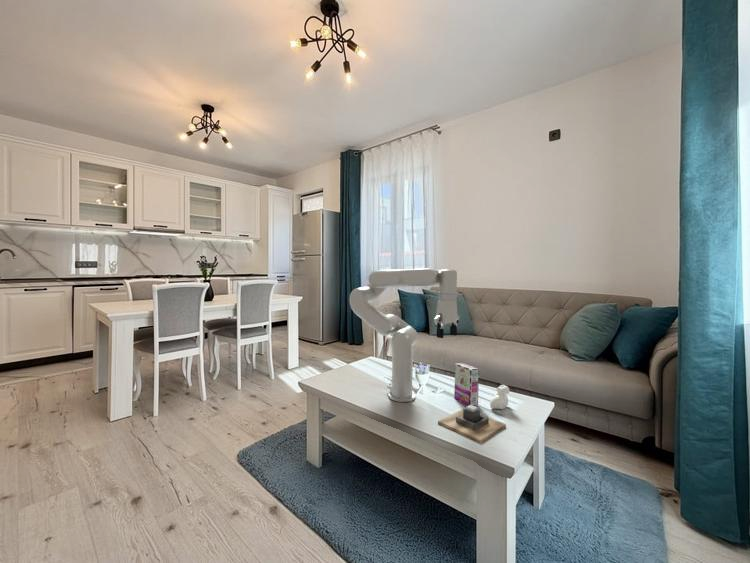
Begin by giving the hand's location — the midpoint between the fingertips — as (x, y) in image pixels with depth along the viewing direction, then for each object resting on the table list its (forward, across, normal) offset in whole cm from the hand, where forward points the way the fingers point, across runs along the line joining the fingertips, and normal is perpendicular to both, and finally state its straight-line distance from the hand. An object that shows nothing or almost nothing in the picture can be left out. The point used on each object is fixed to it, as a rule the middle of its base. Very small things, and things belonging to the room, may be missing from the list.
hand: (446, 336), depth 138 cm
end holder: (+30, +8, +18) cm, 36 cm away
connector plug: (+29, +8, +18) cm, 35 cm away
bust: (+31, -16, +17) cm, 38 cm away
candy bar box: (+31, -10, +4) cm, 32 cm away
